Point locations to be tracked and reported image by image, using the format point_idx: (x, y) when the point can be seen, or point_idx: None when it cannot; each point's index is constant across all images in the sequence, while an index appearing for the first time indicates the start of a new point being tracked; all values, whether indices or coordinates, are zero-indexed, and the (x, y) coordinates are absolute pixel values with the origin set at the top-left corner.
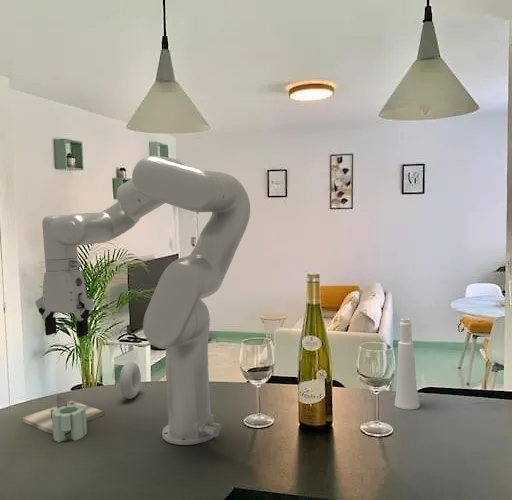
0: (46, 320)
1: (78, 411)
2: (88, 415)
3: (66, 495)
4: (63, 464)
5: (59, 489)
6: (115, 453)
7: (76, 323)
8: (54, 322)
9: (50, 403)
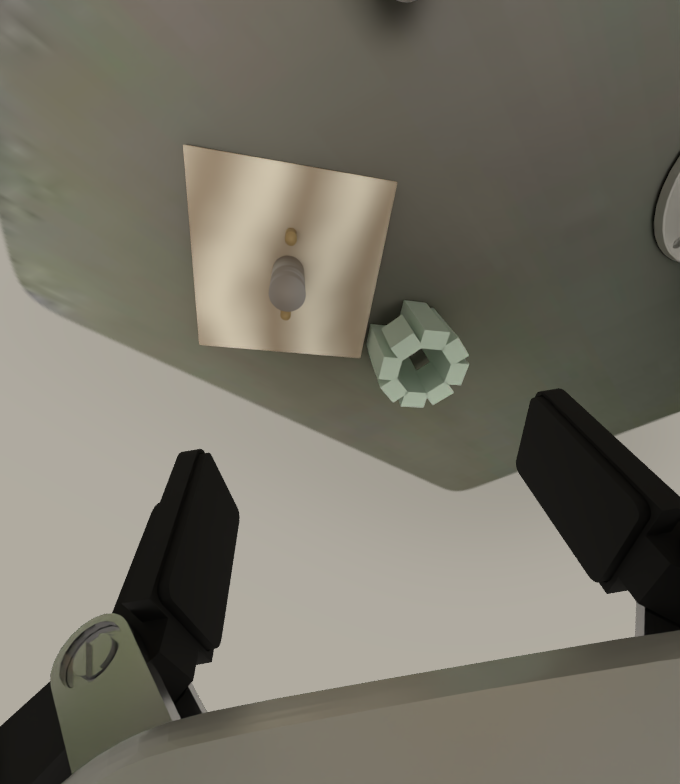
0: (211, 650)
1: (458, 365)
2: (375, 239)
3: None
4: (481, 418)
5: None
6: (561, 350)
7: (586, 567)
8: (193, 553)
9: (99, 180)
